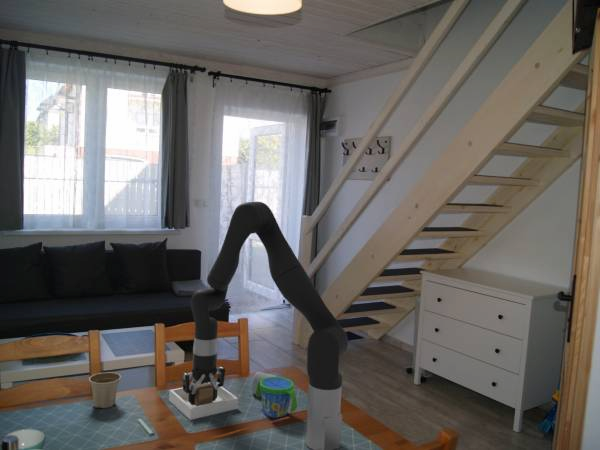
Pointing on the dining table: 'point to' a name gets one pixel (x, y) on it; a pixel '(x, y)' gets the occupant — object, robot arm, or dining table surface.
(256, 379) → the ceramic mug
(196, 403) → the walnut block
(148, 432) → the sage mat
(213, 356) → the robot arm
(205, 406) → the white bin
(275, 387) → the snack cup
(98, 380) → the flower pot
